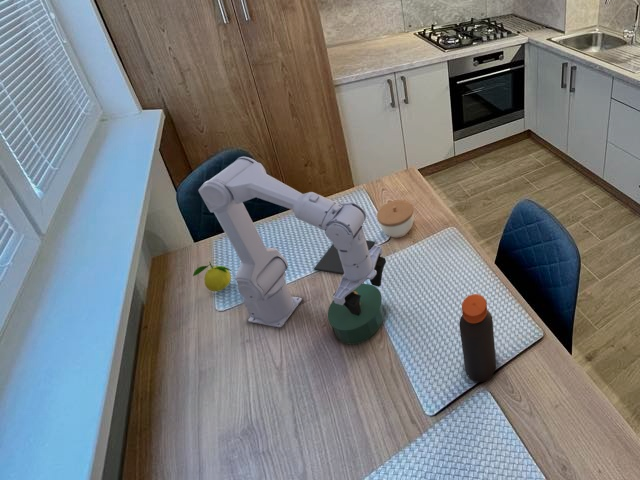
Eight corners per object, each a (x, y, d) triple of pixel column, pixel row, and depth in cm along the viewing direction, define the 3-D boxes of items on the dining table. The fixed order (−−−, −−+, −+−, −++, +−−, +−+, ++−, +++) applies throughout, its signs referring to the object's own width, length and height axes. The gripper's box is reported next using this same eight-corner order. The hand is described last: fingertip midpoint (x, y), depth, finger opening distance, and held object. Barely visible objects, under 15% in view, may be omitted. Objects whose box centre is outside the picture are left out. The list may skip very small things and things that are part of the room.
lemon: (202, 294, 107) (188, 267, 103) (224, 276, 112) (211, 250, 107) (219, 302, 105) (205, 275, 100) (240, 284, 109) (228, 257, 105)
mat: (314, 269, 113) (313, 268, 113) (339, 238, 124) (338, 236, 123) (353, 275, 111) (352, 274, 110) (374, 243, 121) (374, 241, 121)
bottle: (500, 356, 90) (496, 294, 81) (489, 387, 84) (483, 325, 75) (472, 347, 92) (465, 286, 83) (459, 377, 86) (450, 314, 77)
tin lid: (317, 328, 92) (312, 314, 90) (347, 283, 103) (343, 270, 101) (365, 337, 90) (361, 323, 88) (391, 290, 101) (388, 277, 99)
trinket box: (380, 246, 120) (374, 222, 116) (382, 222, 129) (376, 198, 125) (417, 239, 122) (412, 215, 118) (416, 215, 131) (412, 192, 127)
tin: (325, 339, 95) (320, 324, 92) (351, 298, 104) (347, 283, 102) (369, 348, 92) (364, 332, 90) (391, 304, 102) (387, 290, 100)
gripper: (348, 287, 79) (361, 332, 85) (389, 235, 92) (399, 277, 98) (319, 279, 81) (334, 323, 87) (363, 228, 94) (374, 270, 100)
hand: (366, 298), depth 93 cm, fingers open, 7 cm apart
